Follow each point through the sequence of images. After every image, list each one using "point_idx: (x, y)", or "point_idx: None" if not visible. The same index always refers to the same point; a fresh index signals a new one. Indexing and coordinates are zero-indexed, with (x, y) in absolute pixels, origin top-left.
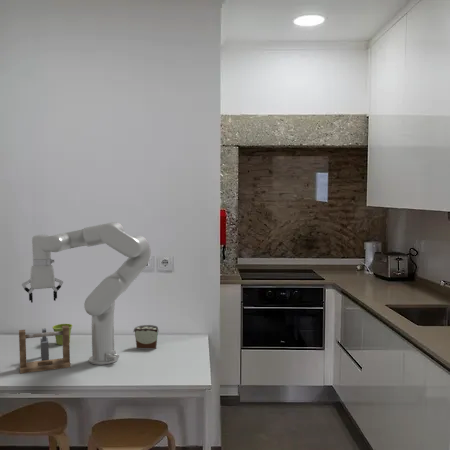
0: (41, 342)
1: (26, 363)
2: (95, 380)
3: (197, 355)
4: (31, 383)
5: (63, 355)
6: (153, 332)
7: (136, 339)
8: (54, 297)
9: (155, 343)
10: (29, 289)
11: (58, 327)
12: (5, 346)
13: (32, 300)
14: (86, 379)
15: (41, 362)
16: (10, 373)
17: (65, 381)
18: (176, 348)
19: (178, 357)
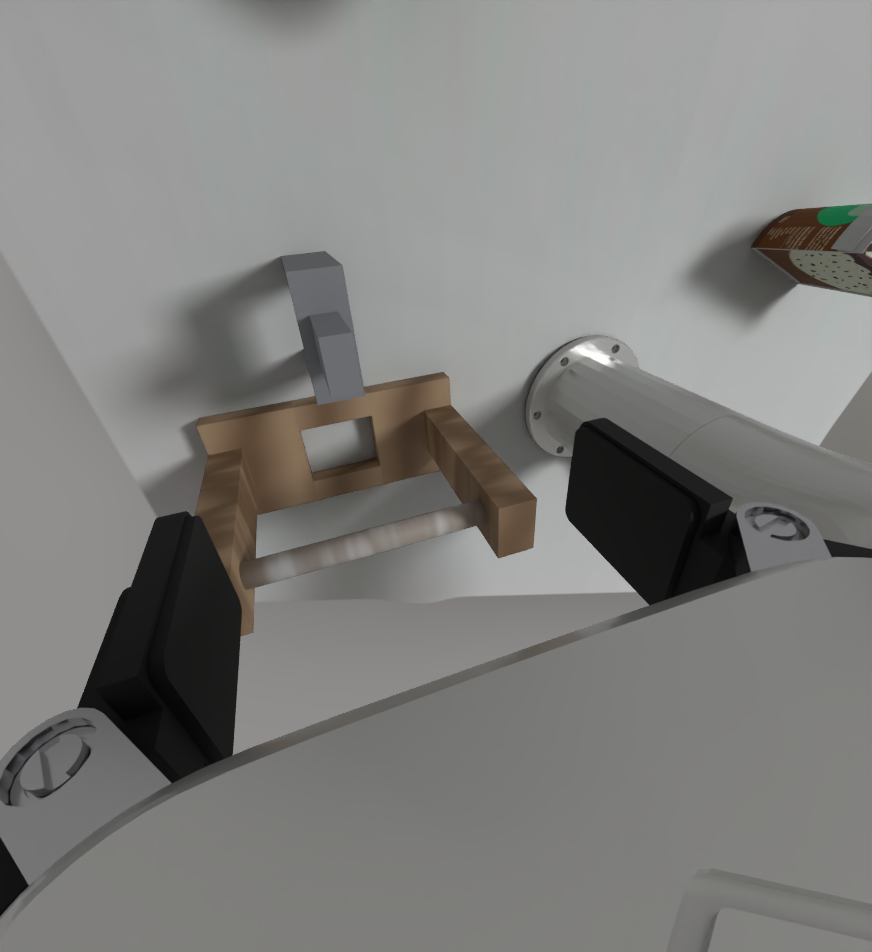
0: (316, 390)
1: (239, 437)
2: (513, 576)
3: (834, 400)
4: (317, 599)
5: (436, 455)
6: None
7: (795, 250)
8: (602, 546)
9: (823, 286)
10: (39, 869)
11: None
12: None
13: (238, 635)
14: (491, 569)
15: (318, 425)
16: (184, 506)
17: (429, 583)
18: (849, 299)
19: (786, 410)
